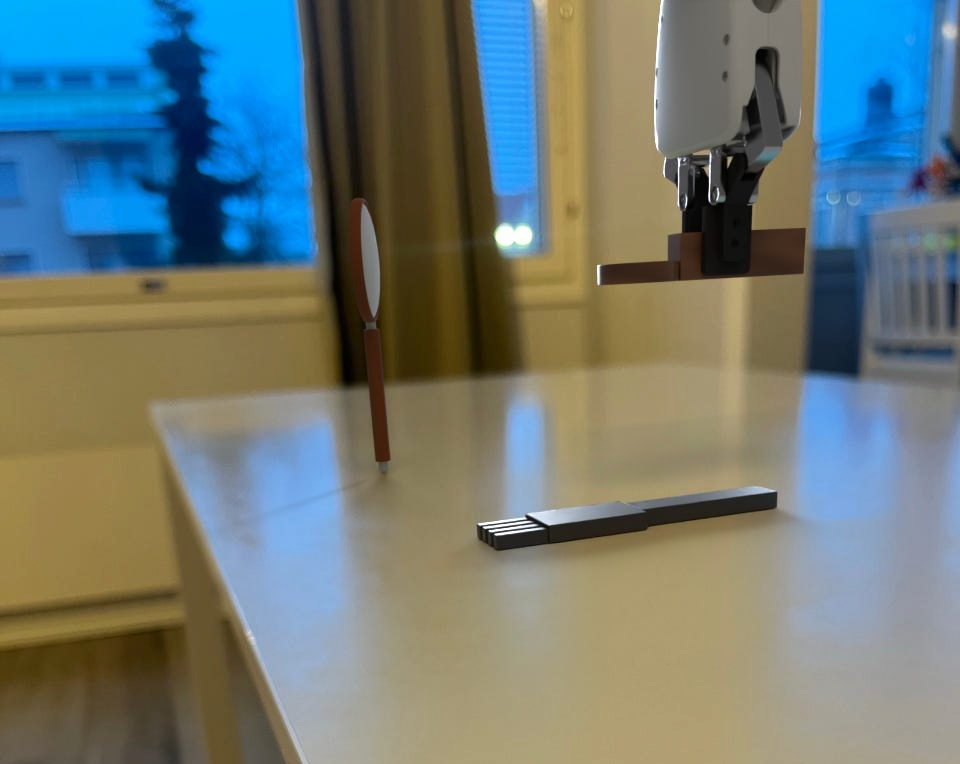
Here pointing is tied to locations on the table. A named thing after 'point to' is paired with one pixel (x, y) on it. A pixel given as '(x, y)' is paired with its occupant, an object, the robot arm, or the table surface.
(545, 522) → the fork
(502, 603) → the table surface
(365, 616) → the table surface
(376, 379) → the magnifying glass
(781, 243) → the brown disc and block
